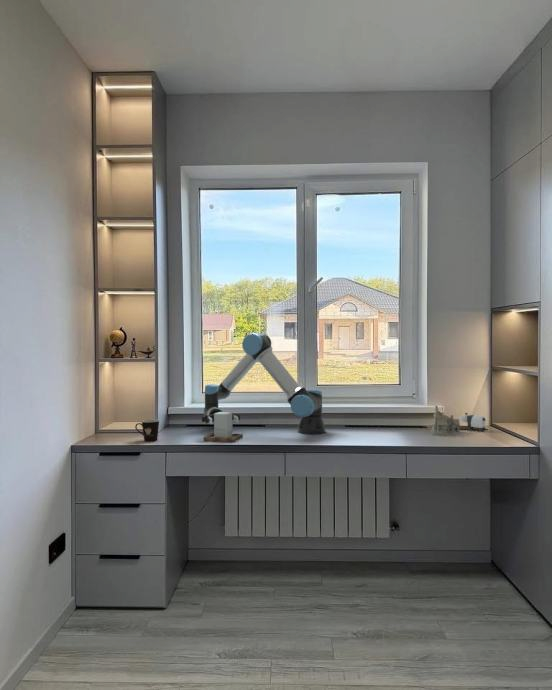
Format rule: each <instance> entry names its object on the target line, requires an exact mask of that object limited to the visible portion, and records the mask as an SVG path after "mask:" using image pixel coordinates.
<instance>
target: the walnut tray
mask: <svg viewBox="0 0 552 690" xmlns="http://www.w3.org/2000/svg"><path fill="white" fill-rule="evenodd" d="M242 437H243V438H244V434H243V433H233V432H232V437H230V438H218V437H214V432H213V433H209V434H208V435H205V436H203V442H209V441H211V442H212V443H228V442H234V443H236V442H237V441H236V440H238V439H239V440H241V439H243V438H242ZM240 438H241V439H240ZM239 440H238V441H239ZM235 441H236V442H235Z"/></svg>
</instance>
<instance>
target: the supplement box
mask: <svg viewBox="0 0 552 690" xmlns="http://www.w3.org/2000/svg"><path fill="white" fill-rule="evenodd" d="M232 414H233V412H230V411H228V412H227V411H222V412H218V413H215V414H214V422H213V426H214V427H213V429H214V430H213V431H214V432H213V433H214V437H218V438H230V437H232V433H233V420H232Z"/></svg>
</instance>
